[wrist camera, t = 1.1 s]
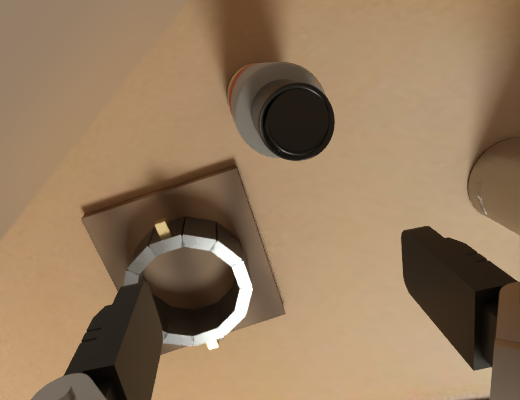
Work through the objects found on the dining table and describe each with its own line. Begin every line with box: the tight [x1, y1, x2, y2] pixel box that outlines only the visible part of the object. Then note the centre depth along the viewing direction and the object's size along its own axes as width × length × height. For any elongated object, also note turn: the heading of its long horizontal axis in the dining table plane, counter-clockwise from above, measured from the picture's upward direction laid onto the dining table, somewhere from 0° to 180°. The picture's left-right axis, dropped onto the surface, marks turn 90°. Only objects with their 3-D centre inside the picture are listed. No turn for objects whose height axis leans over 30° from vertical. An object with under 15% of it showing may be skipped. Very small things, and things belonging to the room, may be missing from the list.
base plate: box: [81, 166, 285, 355], centre depth 42 cm, size 16×19×1 cm
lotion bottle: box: [227, 62, 335, 161], centre depth 28 cm, size 6×6×20 cm
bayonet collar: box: [124, 216, 253, 350], centre depth 39 cm, size 12×15×4 cm
